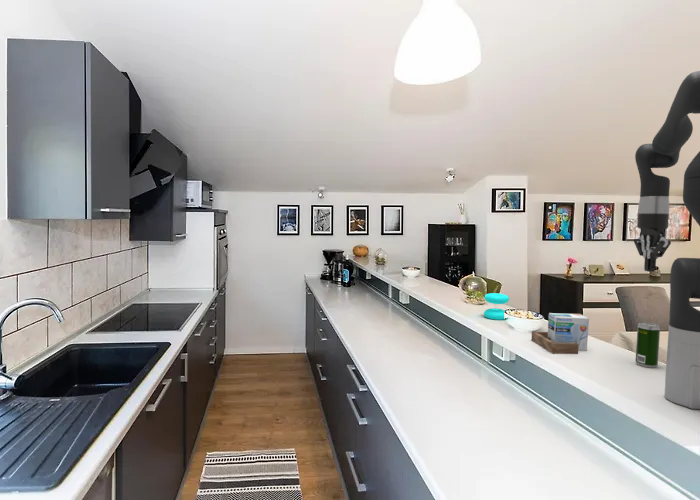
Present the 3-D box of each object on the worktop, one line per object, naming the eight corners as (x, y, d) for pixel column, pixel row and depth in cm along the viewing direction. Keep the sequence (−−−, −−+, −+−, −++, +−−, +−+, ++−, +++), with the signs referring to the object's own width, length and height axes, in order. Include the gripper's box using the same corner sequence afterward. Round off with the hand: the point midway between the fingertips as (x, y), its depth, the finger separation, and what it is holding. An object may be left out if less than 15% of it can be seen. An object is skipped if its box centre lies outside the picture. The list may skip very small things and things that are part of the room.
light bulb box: (553, 349, 143) (555, 316, 142) (546, 344, 150) (547, 312, 149) (588, 351, 142) (590, 318, 141) (578, 345, 149) (580, 313, 148)
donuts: (486, 296, 184) (482, 292, 194) (485, 319, 185) (482, 314, 195) (511, 297, 183) (506, 293, 193) (510, 321, 184) (505, 315, 194)
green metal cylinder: (652, 369, 125) (655, 327, 124) (631, 364, 130) (634, 323, 129) (660, 366, 128) (663, 325, 127) (640, 361, 133) (643, 321, 132)
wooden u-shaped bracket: (578, 353, 139) (578, 344, 139) (552, 353, 139) (552, 343, 139) (554, 340, 154) (555, 331, 154) (531, 340, 154) (531, 331, 154)
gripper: (683, 212, 123) (678, 274, 124) (650, 213, 136) (646, 269, 138) (656, 211, 123) (652, 273, 124) (626, 212, 136) (622, 268, 138)
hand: (649, 271), depth 131 cm, fingers closed
